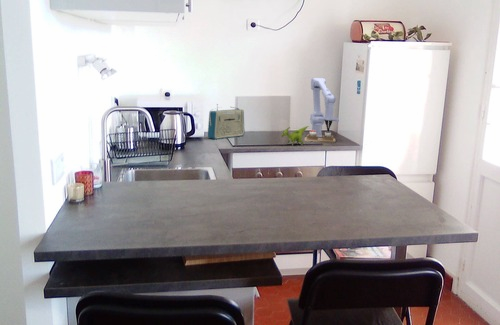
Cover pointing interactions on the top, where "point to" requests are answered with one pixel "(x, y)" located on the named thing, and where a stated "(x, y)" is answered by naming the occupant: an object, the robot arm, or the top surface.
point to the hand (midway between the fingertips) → (328, 130)
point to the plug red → (312, 133)
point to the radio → (226, 123)
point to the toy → (295, 135)
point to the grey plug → (327, 133)
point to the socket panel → (316, 139)
